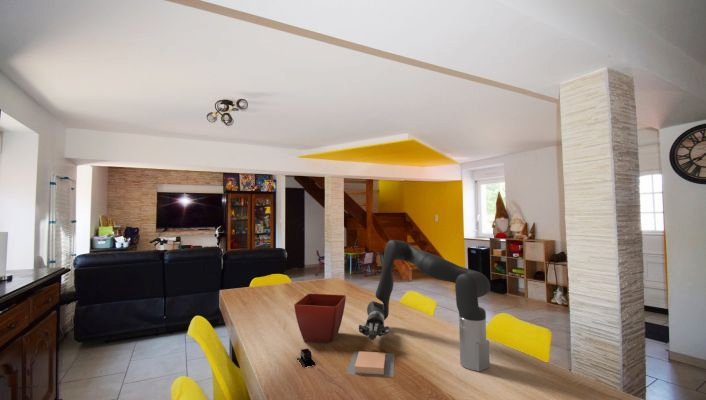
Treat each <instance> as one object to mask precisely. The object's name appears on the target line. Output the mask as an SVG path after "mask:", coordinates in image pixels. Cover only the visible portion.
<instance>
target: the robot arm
mask: <svg viewBox="0 0 706 400" xmlns="http://www.w3.org/2000/svg"><path fill="white" fill-rule="evenodd" d="M395 261H403V262H407V263H410V264H413V265H414V266H415V267H416V269H417V270H418V271H419V272H421V274H424V275H425V276H427V277H429V278H431V279H434V280H437V281H444V282H448V283H453V284H455V285H454V287H455V290H454V291H455V301H456V308H457V311H458V323H459V324H458V326H459V327H458V328H459V334H458V335H459V361H460V362H459V363H460V366H462V367H463V368H465V369H468V370H471V371H476V372H478V373H479V372H481V371H484V370H487V369H489V368H490V367H491V366H490V364H491V363H490V341H489V340H488V339H487V315H486V314H487V312H486V309H484V308H482V307H480V306H479V298H482V297H484V296H485V295H488V293H489V292H490V290H491V283H490V280H489V278H488V277H487V276H486V275H485V274H483V273H482V272H479V271H478V270H477V271H476V270H475V269H474V270H473V269H470V268H466V267H463V266H460V265H458V264H456V263H454V262H451V261H449V260H447V259H444V258H442V257H441V256H439V255H436V254H433V253H431V252H428V251H426V250H422V249H419V248H417V247H415V246H414V245H412V244H410V243H409V242H406V241H403V240H398V239H391V240H388V242H386V245H385V248H384V251H383V259H382V265H381V272H380V278H379V282H378V284H377V285H378V286H377V287H376V291H375V298H376V299H378V300H379V301H380V302H378V301H374V300H373V301H370V302H369V303H368V304H367V308H366V311H367V312H366V313H367V319H366V322H365V324H364V325H361V324H360V325H358V332H359V333H360V334H362V335H363V336H366V337H368V339H370V341H374V340H376V339H377V336H378V337H379V338H380V337H383V336H385V335H388V334H389V333H390V326H388V325H387V326H385V321H386V319H387V318H388V317H389V315H390V314H389V312H390V299H391V295H392V292H393V288H394V277H393V265H394V264H395V263H394V262H395ZM381 302H382V303H381Z"/></svg>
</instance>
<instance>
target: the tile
mask: <svg viewBox="0 0 706 400" xmlns="http://www.w3.org/2000/svg"><path fill="white" fill-rule="evenodd" d="M358 352H359V353H358V357H357V360H356V363H355V373H364V374H380V375H384V368H385V353H386V352H375V351H358Z"/></svg>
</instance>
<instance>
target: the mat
mask: <svg viewBox="0 0 706 400" xmlns="http://www.w3.org/2000/svg"><path fill="white" fill-rule="evenodd" d="M358 353H359V351H353V353H352V357H351V360H350V362H349V365H348V369H347V371H346V375H353V376H354V375H355V376H366V377H367V376H368V377H383V378H394V376H395V375H394V374H395V372H394V371H395V353H388V352H387V353H386V352H384V353H385V368H384V375H380V374H364V373H355V363H356V360H357V357H358Z"/></svg>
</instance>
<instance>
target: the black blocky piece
mask: <svg viewBox="0 0 706 400" xmlns="http://www.w3.org/2000/svg"><path fill="white" fill-rule="evenodd" d="M300 357H301V358H299V357H296V358H297V360H299V362H300V363H301V365H302V367H303V368H304V369H306V368H305V367H307V366H312V365H315V366H316V365H317V363H316V362H315V361H314V360H313V359H312V358H313V357H312V351H311V350H310V349H309V348H303V349H300ZM297 360H296V361H297ZM315 363H316V364H315ZM301 365H300V366H301ZM302 367H301V368H302ZM312 367H313V366H312ZM303 368H302V369H303Z"/></svg>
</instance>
